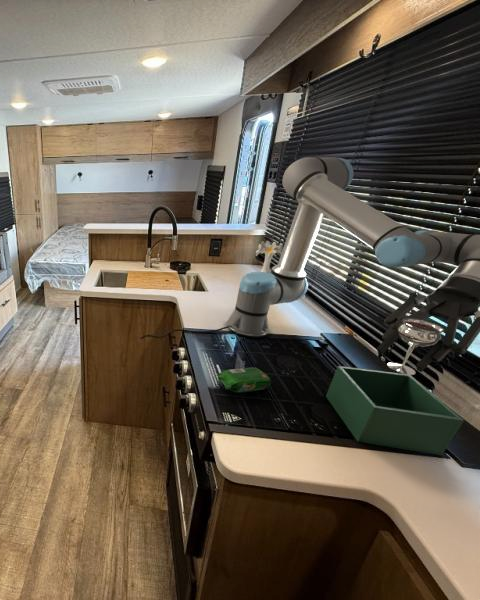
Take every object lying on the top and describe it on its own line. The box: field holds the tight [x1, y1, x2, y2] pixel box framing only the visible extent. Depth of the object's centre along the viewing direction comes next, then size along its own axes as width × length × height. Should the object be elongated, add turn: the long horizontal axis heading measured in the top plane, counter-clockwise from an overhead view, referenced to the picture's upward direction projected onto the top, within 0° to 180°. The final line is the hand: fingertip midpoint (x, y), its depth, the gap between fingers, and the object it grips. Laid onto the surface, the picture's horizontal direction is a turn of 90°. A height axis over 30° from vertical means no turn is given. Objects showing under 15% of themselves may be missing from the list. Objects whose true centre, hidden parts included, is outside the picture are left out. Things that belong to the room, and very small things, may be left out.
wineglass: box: [386, 318, 445, 376], centre depth 72 cm, size 7×7×12 cm
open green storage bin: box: [325, 365, 465, 456], centre depth 78 cm, size 17×17×11 cm
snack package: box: [217, 366, 272, 393], centre depth 92 cm, size 7×16×5 cm, turn 99°
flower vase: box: [255, 240, 283, 273], centre depth 169 cm, size 13×18×25 cm
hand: (398, 359), depth 72 cm, fingers closed on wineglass, 7 cm apart
